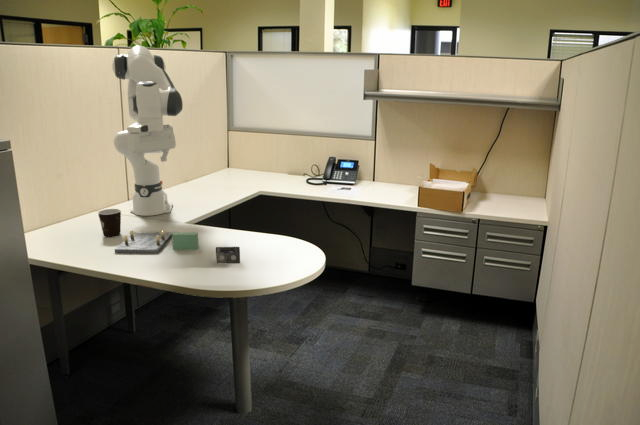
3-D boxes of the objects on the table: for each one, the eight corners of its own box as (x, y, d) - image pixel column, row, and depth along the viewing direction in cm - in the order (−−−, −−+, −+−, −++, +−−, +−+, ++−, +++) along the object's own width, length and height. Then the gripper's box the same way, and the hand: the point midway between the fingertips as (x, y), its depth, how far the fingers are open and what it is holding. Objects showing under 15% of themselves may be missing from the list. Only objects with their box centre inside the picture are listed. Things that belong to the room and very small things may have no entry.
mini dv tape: (240, 262, 189) (239, 246, 187) (239, 263, 188) (239, 247, 186) (217, 262, 189) (216, 246, 187) (216, 263, 187) (215, 247, 186)
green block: (175, 247, 204) (174, 232, 203) (198, 247, 204) (197, 232, 203) (173, 249, 202) (172, 234, 200) (196, 249, 201) (195, 234, 200)
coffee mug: (101, 233, 221) (98, 209, 218) (123, 230, 224) (120, 208, 221) (100, 241, 210) (97, 217, 208) (123, 239, 213) (121, 215, 210)
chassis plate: (134, 236, 217) (132, 225, 216) (173, 236, 217) (172, 225, 215) (114, 253, 198) (113, 241, 196) (157, 253, 197) (156, 241, 196)
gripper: (166, 123, 208) (169, 159, 211) (122, 127, 191) (126, 165, 194) (177, 124, 205) (180, 160, 208) (134, 128, 188) (138, 167, 191)
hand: (154, 162), depth 201 cm, fingers open, 8 cm apart
